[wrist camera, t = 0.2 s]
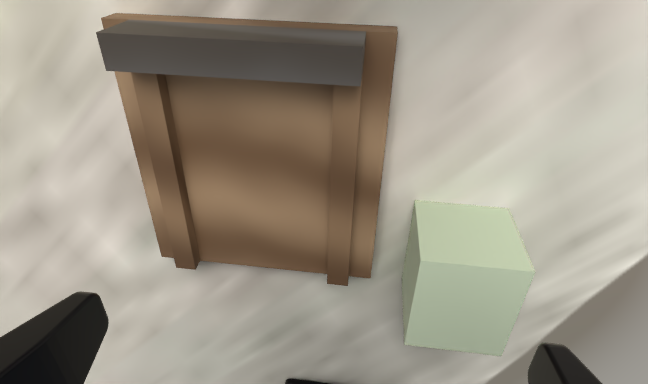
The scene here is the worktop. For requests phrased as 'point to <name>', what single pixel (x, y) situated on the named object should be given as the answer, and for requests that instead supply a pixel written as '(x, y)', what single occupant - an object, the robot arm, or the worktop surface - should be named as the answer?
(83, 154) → the worktop surface
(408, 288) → the block
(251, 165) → the channel board
